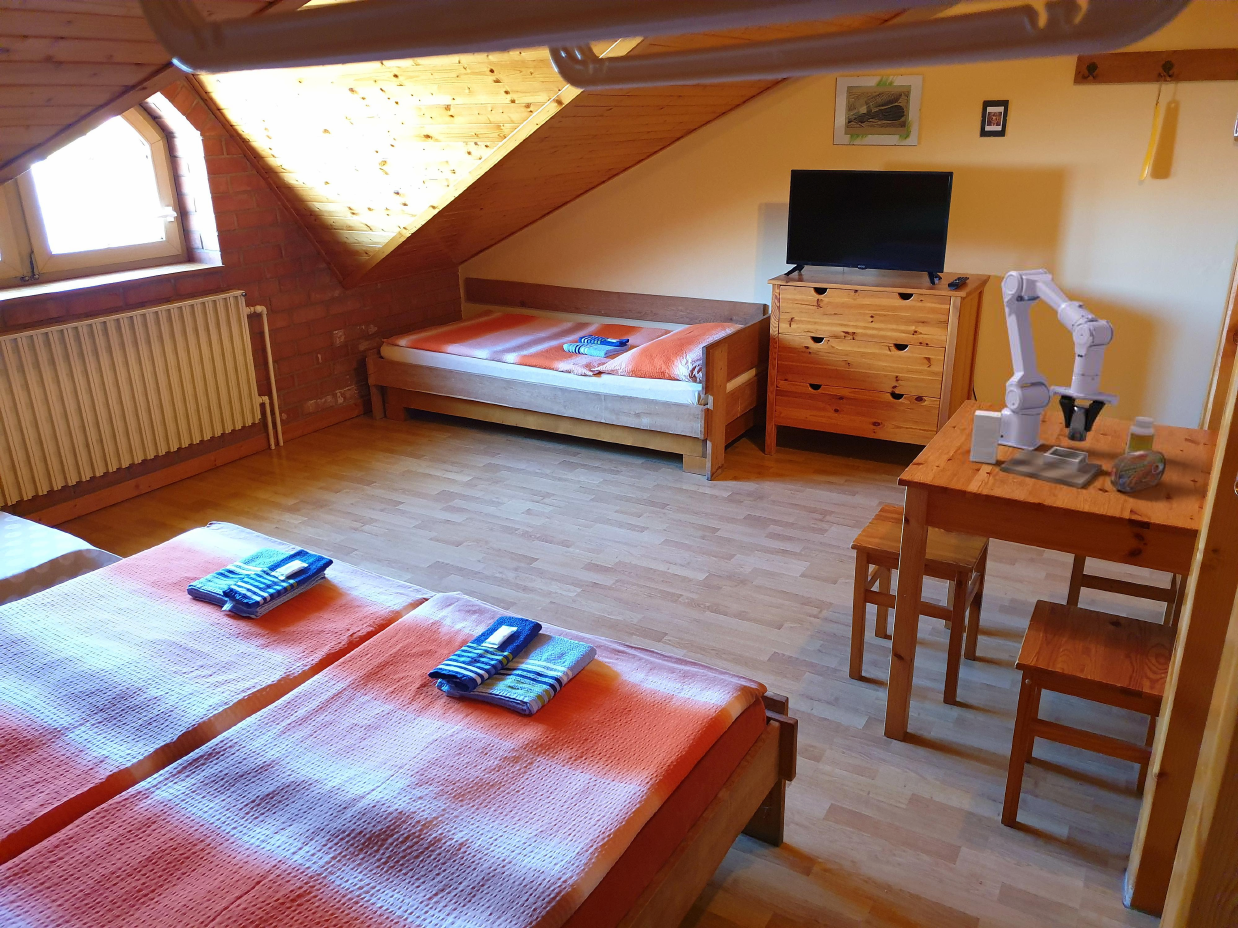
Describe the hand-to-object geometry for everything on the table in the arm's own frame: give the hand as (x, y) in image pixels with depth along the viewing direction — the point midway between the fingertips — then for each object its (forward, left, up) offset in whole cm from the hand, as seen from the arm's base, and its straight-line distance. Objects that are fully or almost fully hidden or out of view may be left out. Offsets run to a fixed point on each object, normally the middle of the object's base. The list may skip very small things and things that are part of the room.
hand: (1077, 429), depth 216 cm
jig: (-3, -6, -9) cm, 11 cm away
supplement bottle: (+10, +17, -10) cm, 22 cm away
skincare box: (-18, -9, -10) cm, 22 cm away
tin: (+15, -5, -10) cm, 19 cm away
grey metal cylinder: (0, 0, -2) cm, 2 cm away
